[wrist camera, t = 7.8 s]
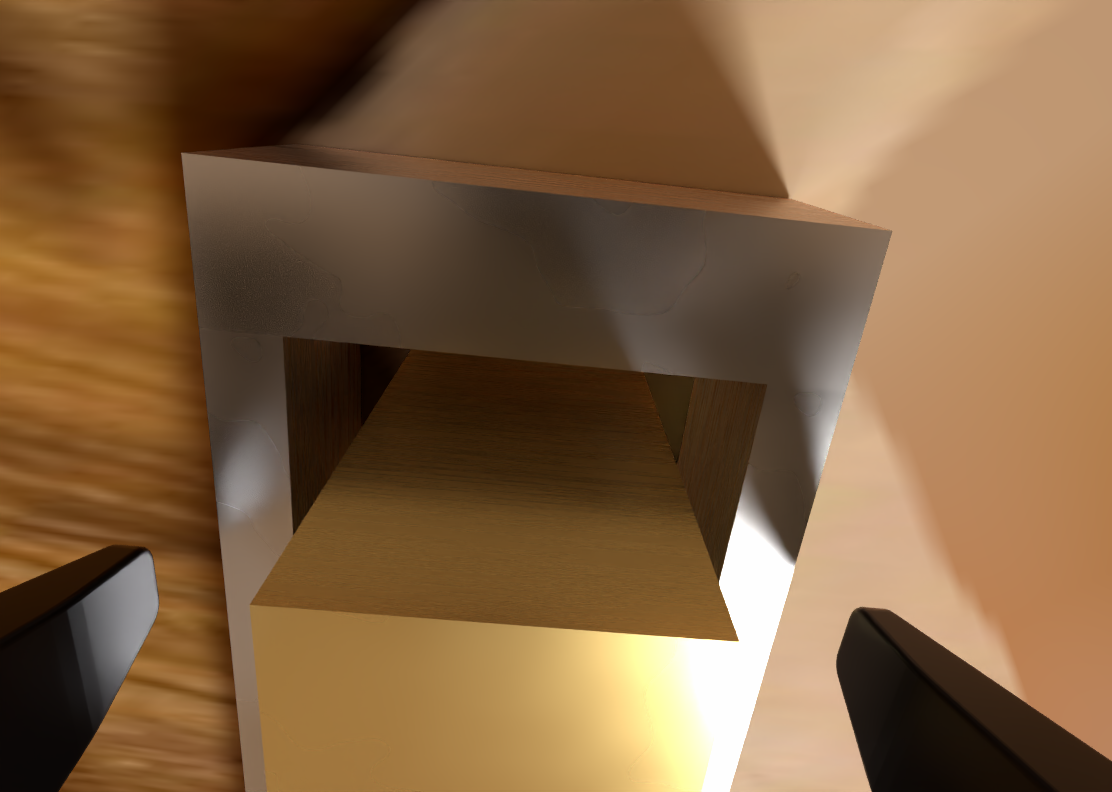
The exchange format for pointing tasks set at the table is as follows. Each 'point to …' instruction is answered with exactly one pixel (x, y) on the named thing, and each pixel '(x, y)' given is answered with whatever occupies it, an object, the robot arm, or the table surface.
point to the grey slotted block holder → (520, 343)
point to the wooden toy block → (496, 596)
